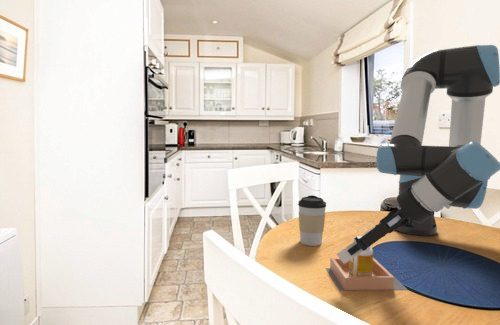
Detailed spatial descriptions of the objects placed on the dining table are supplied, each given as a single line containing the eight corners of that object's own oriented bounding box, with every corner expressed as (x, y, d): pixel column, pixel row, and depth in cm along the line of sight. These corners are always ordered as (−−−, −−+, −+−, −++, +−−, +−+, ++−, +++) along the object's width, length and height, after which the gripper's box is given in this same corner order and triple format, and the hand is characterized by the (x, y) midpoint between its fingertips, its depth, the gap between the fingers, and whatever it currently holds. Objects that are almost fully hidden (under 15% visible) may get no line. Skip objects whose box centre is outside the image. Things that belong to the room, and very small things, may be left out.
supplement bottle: (375, 277, 80) (378, 239, 79) (364, 283, 77) (366, 244, 76) (356, 269, 84) (358, 233, 83) (344, 275, 81) (346, 237, 80)
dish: (372, 268, 87) (373, 257, 87) (394, 289, 75) (394, 277, 75) (330, 268, 86) (330, 257, 86) (344, 290, 75) (345, 278, 74)
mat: (384, 269, 87) (384, 267, 87) (407, 291, 75) (407, 289, 75) (325, 269, 86) (325, 268, 86) (339, 292, 75) (339, 290, 75)
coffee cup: (325, 248, 102) (326, 201, 101) (296, 245, 104) (297, 199, 102) (324, 238, 111) (326, 195, 109) (297, 236, 113) (299, 194, 111)
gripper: (425, 226, 60) (341, 281, 71) (443, 203, 79) (374, 250, 90) (396, 194, 63) (320, 252, 74) (420, 180, 81) (356, 228, 92)
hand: (349, 251), depth 82 cm, fingers open, 11 cm apart
